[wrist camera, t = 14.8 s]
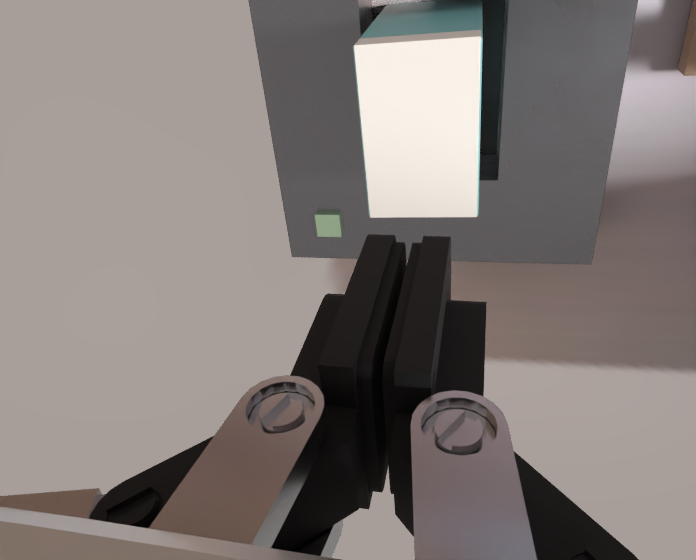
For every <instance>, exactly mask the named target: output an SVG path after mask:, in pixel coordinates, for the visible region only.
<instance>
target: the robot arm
mask: <svg viewBox="0 0 696 560" xmlns="http://www.w3.org/2000/svg"><path fill="white" fill-rule="evenodd" d="M450 297H451V237H448V236H423V239H422V243H412V247H411V251H410V255H409V259H408V263H407V266H406V245H405V242H396V237H395V235H378V234H368V235H367V237H366V240H365V242H364V245H363V248H362V250H361V253H360V256H359V258H358V261H357V263H356V266H355V269H354V271H353V274H352V277H351V279H350V282H349V284H348V287H347V290H346V292H345V295H343V294H327V295H325V297H324V298H323V300H322V303H321V305H320V307H319V310H318V312H317V314H316V317H315V319H314V322H313V324H312V326H311V328H310V331H309V333H308V335H307V338H306V340H305V342H304V345H303V347H302V349H301V352H300V354H299V356H298V359H297V361H296V363H295V366H294V368H293V371H292V373H291V375H290V376H287V375H286V376H279V377H273V378H270V379H267V380H265V381H262V382H260V383H258V384H257V385H255V386H253V387H252V388H250V389H249V390H248V391H247V392H246V393H245V394H244V396H243V397H242V398H241V399H240V400H239V402H238V403H237V405H236V406H235V407H234V409H233V410H232V412H231V413H230V415H229V416H228V418H227V419H226V420H225V421H224V423H223V424H222V426H221V427H220V429H219V430H218V431H217V433H216V434H215V436H213V437H211V438H209V439H207V440H205V441H203V442H201V443H199V444H197V445H195V446H193V447H191V448H189V449H187V450H185V451H183V452H181V453H179V454H177V455H175V456H173V457H171V458H169V459H167V460H165V461H163V462H161V463H159V464H157V465H155V466H153V467H152V468H150V469H147V470H145V471H143V472H142V473H139V474H138V475H136V476H134V477H132V478H130V479H128V480H126V481H124V482H122V483H121V484H119V485H118V486H116V487H114V488H113V489H111V490H110V491H109V492H108V493H107V494H104V495H102V493H101V491H100V489H99V488H96V489H83V490H71V491H59V492H46V493H34V494H21V495H9V496H0V560H340V559H334V558H332V555H333V553H334V550H335V548H336V546H337V543H338V541H339V538H340V536H341V532H342V528H343V519H344V518H345V517H347V516H349V515H350V514H352V513H353V512H355V511H357V510H358V509H359V508H364V509H369V506H370V501H371V497H372V492H373V491H376V492H382V491H383V489H384V484H385V479H386V474H387V469H388V466H389V479H390V491H391V494H394V501H395V514H396V516H397V517H398V518H399V519H400V521H401V522H402V523H403V524H404V525H405V527H406V528H407V529H408V530H409V532H410V533H411V534H412V535H413V536H414V550H415V560H638V559H637V558H636V557H635V555H634V554H632V553H631V552H630V551H629V550H628V549H627V548H625V547H624V546H623V545H622V544H621V543H620V542H619V541H617V540H616V539H615V538H614V537H612V535H610V534H609V533H608V532H607V531H606V530H604V529H603V528H602V527H601V526H600V525H599V524H598V523H596V522H595V521H594V520H593V519H592V518H591V517H589V516H588V515H587V514H586V513H585V512H584V511H582V510H581V509H580V508H579V507H578V506H577V505H576V504H574V503H573V502H572V501H571V500H570V499H569V498H567V497H566V496H565V495H564V494H563V493H562V492H561V491H559V490H558V489H557V488H556V487H555V486H553V485H552V484H551V483H550V482H549V481H548V480H547V479H545V478H544V477H543V476H542V475H541V474H540V473H538V472H537V471H536V470H535V469H534V468H533V467H532V466H530V465H529V464H528V463H527V462H526V461H525V460H523V459H522V458H521V457H520V456H519V455H518V454H516V453H515V452H514V451H513V446H512V442H511V437H510V432H509V428H508V424H507V421H506V419H505V417H504V414H503V413H502V412H501V411H500V409H499V408H498V407H497V406H496V405H495V404H494V403H492V402H491V401H489V400H488V399H486V398H484V397H483V391H484V360H485V328H486V302H472V301H454V300H450Z"/></svg>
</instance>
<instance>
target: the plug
mask: <svg viewBox="0 0 696 560" xmlns="http://www.w3.org/2000/svg"><path fill="white" fill-rule="evenodd" d="M482 44H483V17H482V0H434V1H423V2H411V3H400V4H388V5H386V6H385V7H384V9H383V10H382V11H381V12H380V14H379V15H378V16H377V17H376V19H375V20H374V21H373V22H372V24H371V25H370V26H369V27H368V29H367V30H366V31H365V32H364V34H363V35H362V36H361V37H360V38H359V40H358V41H357V42H356V43H355V45H354V46H353V55H354V65H355V76H356V86H357V97H358V107H359V117H360V128H361V138H362V149H363V159H364V170H365V180H366V191H367V201H368V212H369V216H370V218H391V217H477V215H478V211H479V169H480V128H481V86H482Z"/></svg>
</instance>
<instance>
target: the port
mask: <svg viewBox="0 0 696 560" xmlns="http://www.w3.org/2000/svg"><path fill="white" fill-rule="evenodd" d="M637 3H638V0H505V17H504V34H503V51H502V68H501V85H500V102H499V119H498V136H497V154H480V169H479V211H478V215H477V217H391V218H370V216H369V212H368V201H367V191H366V180H365V170H364V159H363V149H362V138H361V128H360V117H359V107H358V97H357V86H356V76H355V65H354V55H353V46H354V45H355V43H356V42H357V41H358V40H359V38H360V37H361V36H362V35H363V34H364V32H365V31H366V30H367V29H368V27H369V26H370V25H371V24H372V6H371V0H249V6H250V12H251V17H252V23H253V29H254V35H255V41H256V47H257V53H258V59H259V65H260V71H261V77H262V83H263V88H264V94H265V100H266V106H267V112H268V118H269V124H270V130H271V135H272V141H273V147H274V153H275V159H276V165H277V171H278V177H279V183H280V189H281V194H282V200H283V206H284V212H285V218H286V224H287V229H288V236H289V242H290V247H291V253H292V257H315V258H354V259H358V258H359V256H360V253H361V250H362V248H363V245H364V242H365V240H366V237H367V235H368V234H378V235H395V237H396V242H405V245H406V260H408V259H409V255H410V251H411V247H412V243H422V239H423V236H448V237H451V261H474V262H513V263H553V264H592V259H593V253H594V247H595V241H596V236H597V230H598V224H599V219H600V213H601V207H602V202H603V196H604V190H605V185H606V179H607V173H608V168H609V162H610V156H611V151H612V145H613V139H614V134H615V128H616V122H617V117H618V111H619V105H620V100H621V94H622V88H623V83H624V77H625V71H626V65H627V60H628V54H629V48H630V43H631V37H632V31H633V26H634V20H635V14H636V9H637Z"/></svg>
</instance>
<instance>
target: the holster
mask: <svg viewBox="0 0 696 560" xmlns="http://www.w3.org/2000/svg"><path fill="white" fill-rule="evenodd" d="M678 70H679V71H680V72H681V73H682V74H683V75H684V76H689V75H696V0H693V2H692V6H691V11H690V15H689V20H688V24H687V29H686V33H685V37H684V42H683V46H682V51H681V55H680V60H679V64H678Z"/></svg>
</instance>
